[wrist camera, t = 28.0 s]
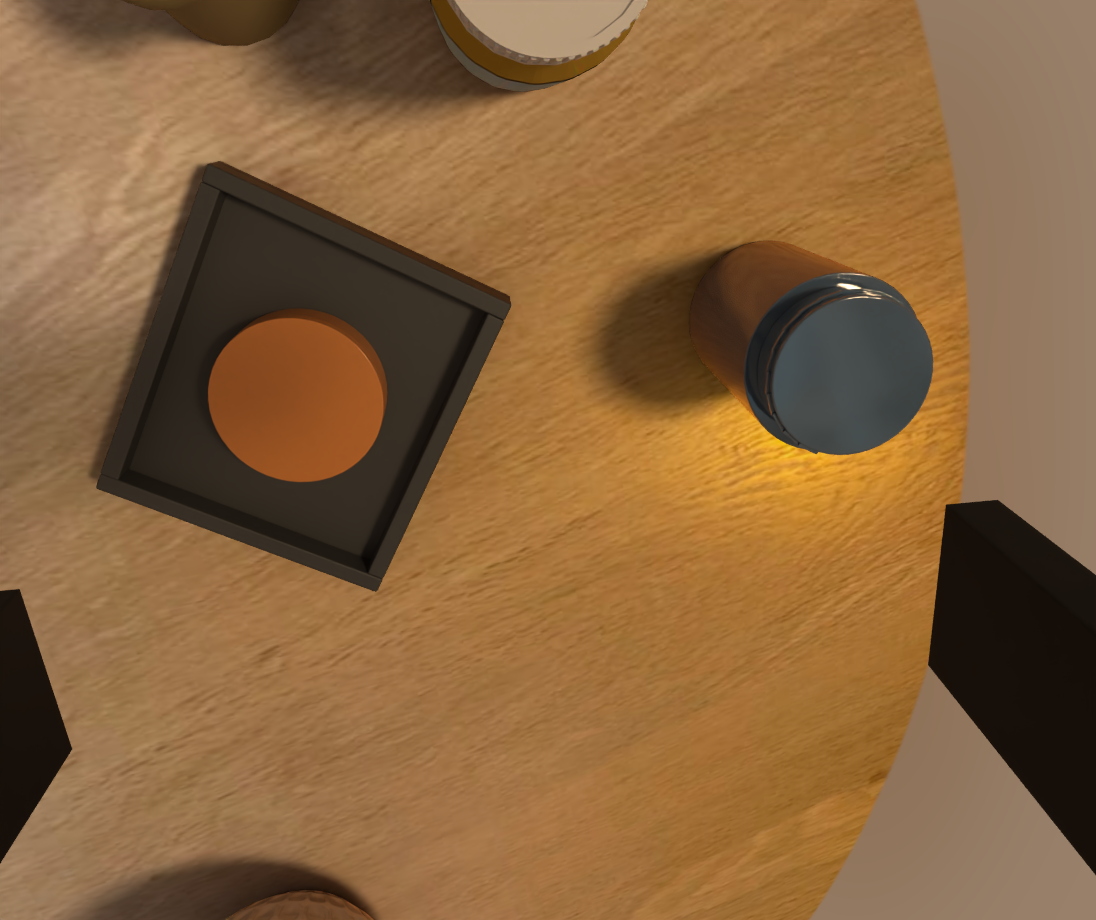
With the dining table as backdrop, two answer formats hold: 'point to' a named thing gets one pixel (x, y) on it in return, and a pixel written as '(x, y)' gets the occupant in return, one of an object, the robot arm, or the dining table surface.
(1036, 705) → the robot arm
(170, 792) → the dining table surface
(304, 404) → the lid
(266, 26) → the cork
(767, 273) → the jar
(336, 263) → the tray
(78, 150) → the dining table surface
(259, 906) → the vase
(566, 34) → the bottle
